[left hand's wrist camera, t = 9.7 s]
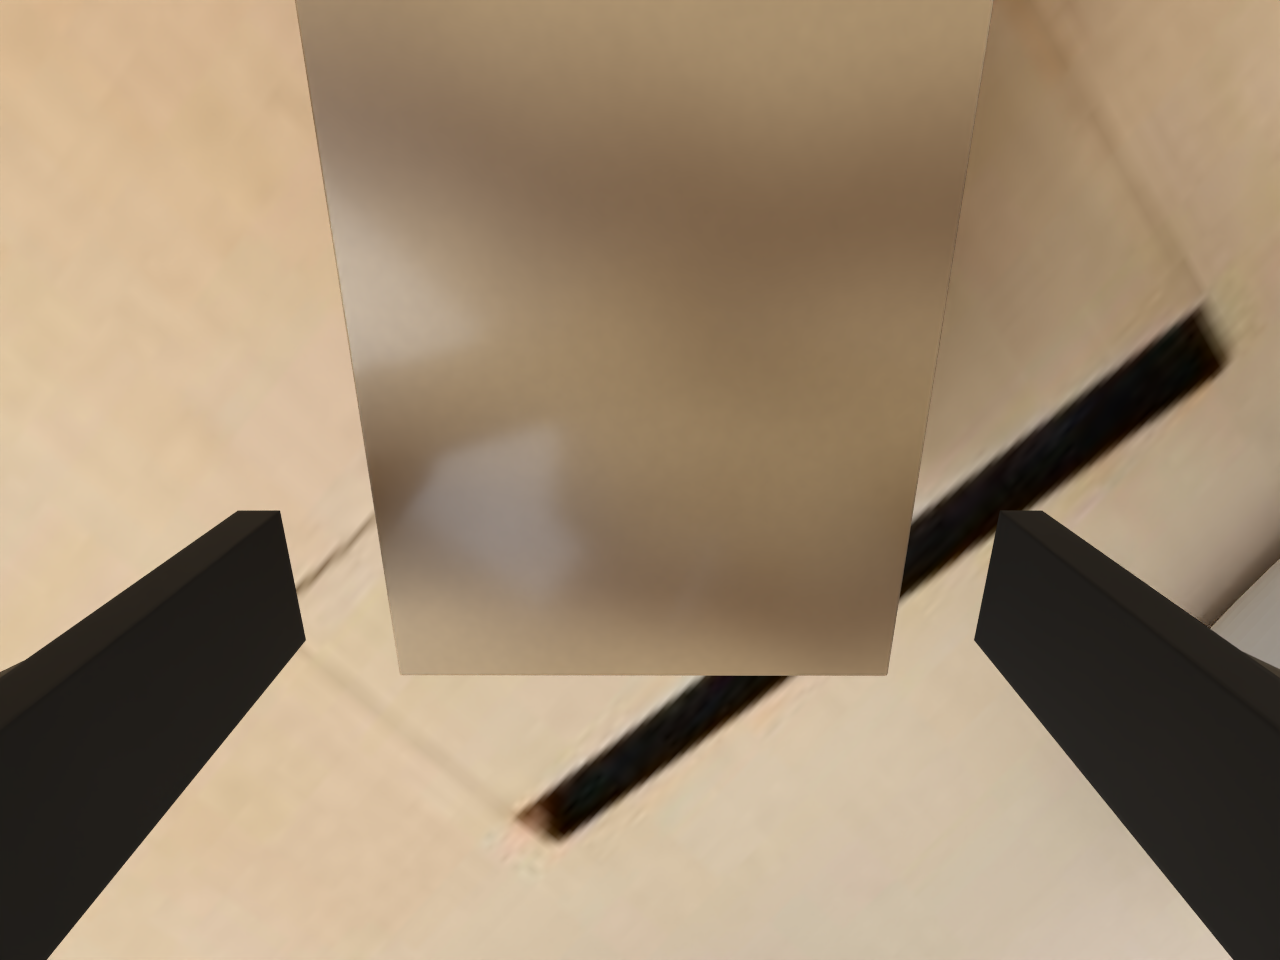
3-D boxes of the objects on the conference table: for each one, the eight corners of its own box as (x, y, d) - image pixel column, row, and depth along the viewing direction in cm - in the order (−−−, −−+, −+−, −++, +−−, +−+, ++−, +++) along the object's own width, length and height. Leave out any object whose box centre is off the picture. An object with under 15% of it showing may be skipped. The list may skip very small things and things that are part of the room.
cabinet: (430, -254, 17) (160, -852, 7) (856, -254, 17) (1131, -857, 7) (494, 495, 24) (399, 676, 15) (791, 495, 24) (888, 676, 15)
